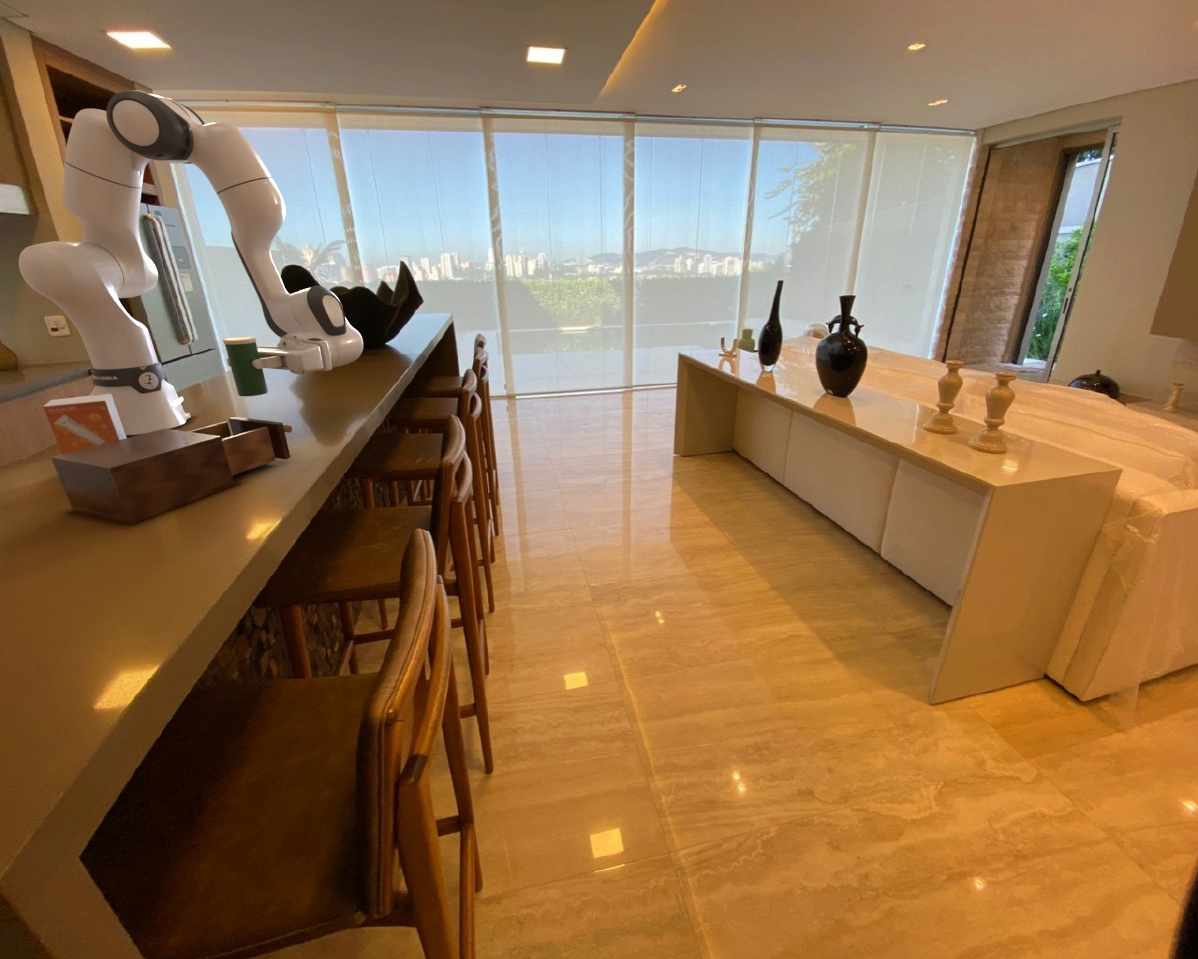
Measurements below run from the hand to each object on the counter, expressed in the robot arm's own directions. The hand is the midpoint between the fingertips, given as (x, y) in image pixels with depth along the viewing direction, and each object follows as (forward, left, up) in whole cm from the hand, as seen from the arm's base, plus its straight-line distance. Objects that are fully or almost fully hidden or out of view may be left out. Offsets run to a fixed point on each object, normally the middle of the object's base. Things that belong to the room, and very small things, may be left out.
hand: (241, 363), depth 105 cm
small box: (-12, -22, -16) cm, 30 cm away
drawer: (+11, -13, -15) cm, 23 cm away
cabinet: (+11, -27, -16) cm, 33 cm away
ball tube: (0, +1, -6) cm, 6 cm away
